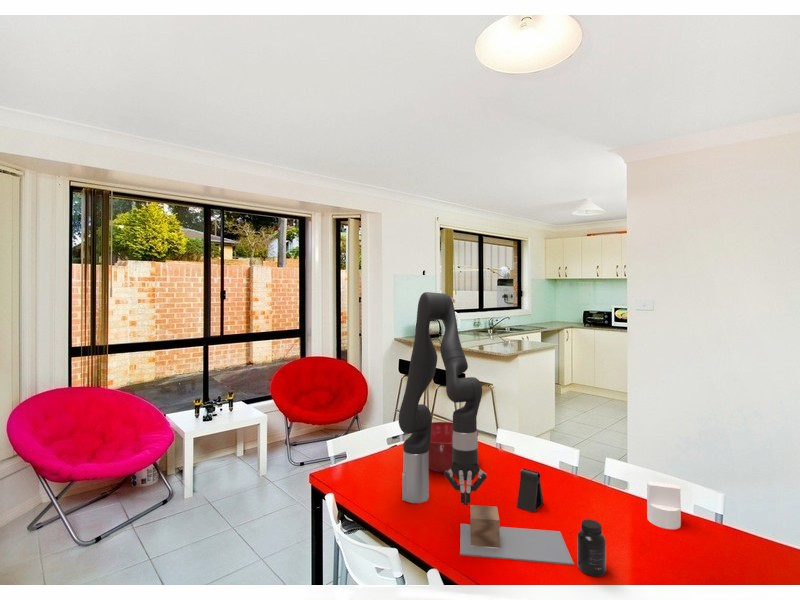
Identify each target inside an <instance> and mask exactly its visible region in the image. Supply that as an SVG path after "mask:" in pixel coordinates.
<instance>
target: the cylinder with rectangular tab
mask: <svg viewBox="0 0 800 600" xmlns="http://www.w3.org/2000/svg"><path fill="white" fill-rule="evenodd" d="M646 500H647V501H646V506H647V507H646V508H647V509H646V513H647V517H646V518H647V521H649V522H650V523H651V524H652V525H654V526H656V527H659V528H661V529H666V530H677V529H680V528H681V526H682V519H681V515H682V514H681V512H682V511H681V509H682V508H681V507H682V506H681V500H682V499H681V487H680V486H679V485H678V484H673V483H665V482H658V481H657V482H656V481H646Z"/></svg>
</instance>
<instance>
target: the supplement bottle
mask: <svg viewBox="0 0 800 600" xmlns="http://www.w3.org/2000/svg"><path fill="white" fill-rule="evenodd" d="M580 524H581V526H580V530H579V531H578V532H577V537H576V539H577V544H576V546H577V549H576V550H577V567H578V568H579V570H580V571H581V572H582V573H583V574H585V575H587V576H590V577H596V578H598V577H602V576H604V575H605V574H606V572H607V544H606V543H607V542H606V537H605V536H604V534H603V530H602V523H600V522H599V521H596V520H594V519H589V518H588V519H585V518H584V519H583V520H582V521H581V523H580Z"/></svg>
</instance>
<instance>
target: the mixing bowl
mask: <svg viewBox="0 0 800 600" xmlns="http://www.w3.org/2000/svg"><path fill="white" fill-rule="evenodd" d="M410 434H412V433H410ZM452 434H453V421H452V422H450V421H432V426H431V442H430V445H429V470H431V471H434V472H436V471H437V473H445V470H448V469H450V468H451V464H452ZM477 437H479V432H478V430H477Z"/></svg>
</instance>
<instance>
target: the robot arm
mask: <svg viewBox="0 0 800 600" xmlns="http://www.w3.org/2000/svg"><path fill="white" fill-rule="evenodd" d="M456 317H457V316H456V311H455V306H454V302H453V299H452V297H451V296H450V294H448V293H444V292H442V293H441V292H432V291H431V292H429V291H427V292H423V293H422V294H420V296H419V299H418V303H417V311H416V322H415V323H416V324H415V331H414V333H415V334H414V340H413V341H414V342H413V345H412V352H411V356H410V363H409V367H408V374H407V378H406V379H407V381H406V385H405V388H404V389H405V390H404V394H403V396H402V397H403V399H402V402H401V405H400V407H399V412H398V426H399V428H400V430H401V432H403V433H404V434H411V433H412V434H411V435H410V436H409V437H408V438H406V439H405V440H404V442H403V446H402V450H403V452H402V453H403V456H402V458H403V459H402V460H403V462H402V464H403V466H402V468H403V469H402V470H403V471H402V474H401V478H402V480H401V481H402V483H401V485H402V487H401V488H402V491H401V493H402V497H401V498H402V499H401V500H402V501H404V502H408V503H411V504H421V503H422V504H423V503H425V502H427V501H429V498H430V488H429V487H430V473H429V472H430V469H429V445H430V442H431V426H432V422H433V421H432V420H433V419H432V413H431V410H430V409H429V407H428V406H427V405H425V404H423V403H422V404H421V403H420V400H421V397H422V396H423V394H424V393H425V391H426V390H427V388H429V386H430V384H431V383H432V380H433V379H434V377H435V374H436V370H437V363H438V354H437V350H436V348H435V344H434V343H433V341H432V339H431V335H430V326H431V325H430V323H431V320H432V321H434V320H435V321H442V324H443V326H444V333H443V336H442V339H441V343H440V348H439V349H440V351H439V352H440V355H441V359H442V363H443V366H444V368H445V385H446V387H445V388H446V389H445V391H446V396H447V397H448V400H450V401H451V402H453V403H455V404H456V403H464V405H463V406H462V407H460V408H458V409H455V410H453V413H452V423H453V434H452V464H451V468H450V469H448V470H445V473H444V474H443V476H444V477H445V479H446V480H447V481H448V482H449V484H450V485H451V487H452V488H453V490H454V491H458V492H459V493H460V503H461V504H463V506H467V507H468V506H469V504H470V503H471V493H472V492H477V491H478V489H479V488H480V487H481V485H482V484H483V483H484V482H485V480H486V479H487V478H488V477H487V472H486V471H483V470H482V469H481V468H480V464H479V441H478V437H479V436H478V437H477V431H478V430H477V424H478V423H477V416H478V412H479V409H480V408H479V407H480V404H481V401H482V396H483V385H482V383H481V382H480V380H479V379H478V377H477V378H476V377H474V376H473V377H472V376H469V377H458V376H459V375H462V374H464V373H466V372H467V370H468V368H469V365H468V360H467V358H466V356H465V355H466V354H465V353H464V350H463V347H462V343H461V339H460V335H459V329H458V323H457V318H456ZM419 403H420V404H419ZM454 475H455V477H453V476H454ZM476 477H477V478H476ZM455 478H457V479H458V480H459V483H458V482H457V481H456V479H455ZM475 478H476V480H475V481H474V483H473V484H472V481H473V480H474V479H475ZM465 481H466V484H465ZM465 485H466V488H465ZM470 505H471V504H470Z"/></svg>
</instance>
